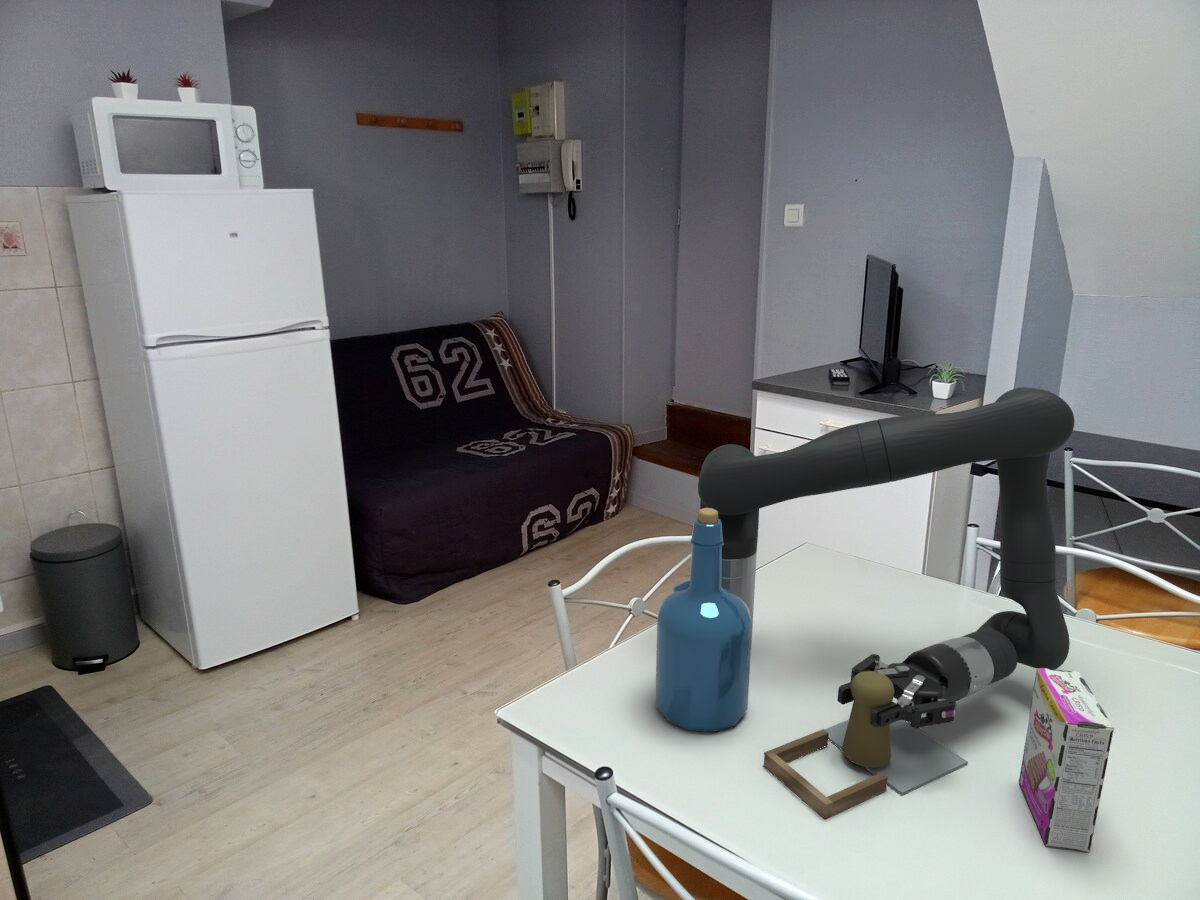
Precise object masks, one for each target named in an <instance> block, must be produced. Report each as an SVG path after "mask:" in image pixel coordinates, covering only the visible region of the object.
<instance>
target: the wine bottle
mask: <svg viewBox="0 0 1200 900" xmlns="http://www.w3.org/2000/svg"><path fill="white" fill-rule="evenodd" d="M692 526H693V527H692V533H691V538H690V545H691V557H690V558H691V560H690V571H689V572H690V574H689V576H690V577H689V580H687V581H684V582H682V583H680V584H678V585H675V586H674V587H673V590H672V593H670V594H669V595H667V596H666V597H665V598H663V599H662V601H661V602H660V604H659V606H658V609H657V619H656V620H657V621H656V656H655V657H656V664H655V666H656V668H655V707H656V708H657V710H658V712H660V713H661V715H662V716H663V717H664V718H665V720H667V722H668V723H670V724H673V725H675V726H678V727H681V728H683V729H685V730H687V731H694V732H706V733H707V732H709V733H710V732H712V733H713V732H714V733H715V732H718V731H721V730H724V729H728V728H731V727H734V726H735V725H736V724H737V723H739V721H740V720H741V719H742V718H743V717H744V715H745V714H746V713H747V711H748V705H749V691H750V690H749V687H750V686H749V685H750V672H751V656H752V655H751V654H752V653H751V651H752V644H751V639H752V640H753V627H752V622H751V615H750V611H749V609H748V606H747V605H746V603H745V602H744V601H743V600H742V599H741V598H739V597H738V596H737V595H735V594H734V593H733V592H731V591H729V590H728V589H725V588H723V587H722V586H721V566H722V546H723V545H724V542H723V535H722V522H721V520H720V519H718V511H717V510H715V509H713V508H703V509H700V508H699V511H698V513H697V517H696V518H694V519H693V525H692Z"/></svg>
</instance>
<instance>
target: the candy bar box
mask: <svg viewBox="0 0 1200 900" xmlns="http://www.w3.org/2000/svg"><path fill="white" fill-rule="evenodd" d="M1035 670H1036V671H1035V677H1034V683H1033V689H1032V690H1033V691H1032V697H1031V701H1030V702H1031V704H1030V709H1029V710H1030V711H1029V714H1028V724H1027V728H1026V729H1027V730H1026V733H1025V734H1026V735H1025V743H1024V749H1023V754H1022V761H1021V768H1020V772H1019V778H1018V784H1019V787H1020V789H1021V791H1022V793H1023V795H1024V798H1025V801H1026V803H1027V804H1028V807H1029V810H1030V812H1031V814H1032V817H1033V819H1034V822H1035V823H1036V826H1037V830H1038V831H1039V834H1040V836H1041V839H1042V841H1043V844H1044V846H1045V847H1049V848H1052V849H1053V848H1054V849H1060V850H1072V851H1077V852H1085V853H1090V852H1091V848H1092V847H1091V846H1092V841H1093V836H1094V831H1095V827H1096V821H1097V818H1098V817H1097V816H1098V812H1099V807H1100V801H1101V796H1102V790H1103V787H1104V782H1105V781H1104V780H1105V777H1106V776H1105V775H1106V772H1107V767H1108V761H1109V756H1110V749H1111V745H1112V739H1113V734H1114V730H1115V727H1114V725H1113V724H1112V723H1111V720H1110V719H1109V717H1108V716H1107V714H1106V713H1105V711H1104V709H1103V707H1102V706H1101V705H1100V703H1099V702H1098V700H1097V698H1096V696H1095V695H1094V693H1093V691H1092V690H1091V688H1090V687H1089V685H1088V684H1087V682H1086V680H1085V678H1083V676H1082V674H1081V673H1080V672H1079V671H1071V670H1063V669H1054V670H1051V669H1048V668H1037V669H1036V668H1035Z"/></svg>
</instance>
